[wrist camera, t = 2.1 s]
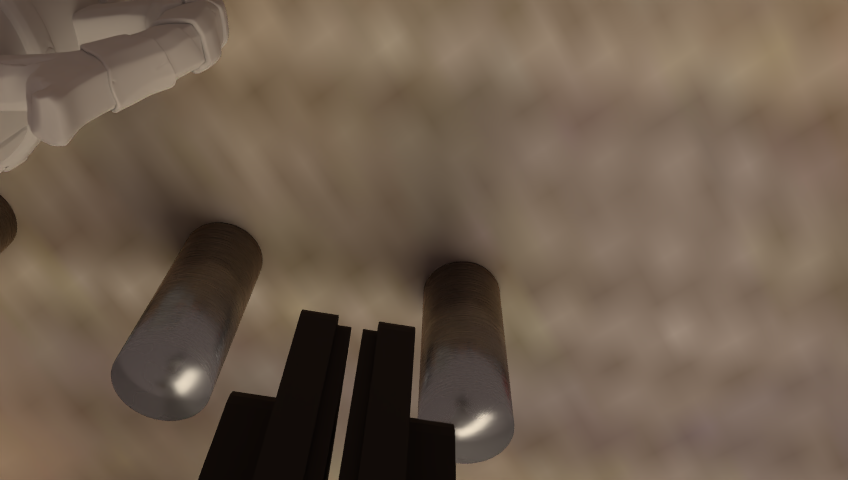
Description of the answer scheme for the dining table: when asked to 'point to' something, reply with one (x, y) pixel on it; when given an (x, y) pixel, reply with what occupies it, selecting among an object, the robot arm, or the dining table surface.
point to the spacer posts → (226, 302)
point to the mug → (94, 61)
